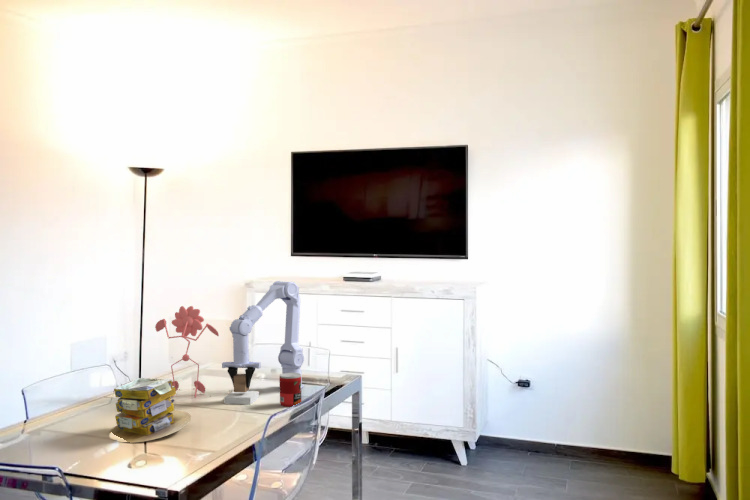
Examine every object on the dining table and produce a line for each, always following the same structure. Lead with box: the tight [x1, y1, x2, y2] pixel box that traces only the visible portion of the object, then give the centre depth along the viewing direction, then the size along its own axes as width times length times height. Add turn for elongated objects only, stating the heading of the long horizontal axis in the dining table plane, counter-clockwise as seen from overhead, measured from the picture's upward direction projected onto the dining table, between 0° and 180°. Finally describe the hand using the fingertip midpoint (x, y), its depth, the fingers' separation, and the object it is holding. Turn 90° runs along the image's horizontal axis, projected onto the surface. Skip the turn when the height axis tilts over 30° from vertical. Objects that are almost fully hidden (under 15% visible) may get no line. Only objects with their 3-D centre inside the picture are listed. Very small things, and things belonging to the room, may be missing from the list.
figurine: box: [154, 305, 220, 398], centre depth 256 cm, size 15×26×35 cm, turn 87°
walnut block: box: [233, 373, 250, 392], centre depth 242 cm, size 4×4×6 cm
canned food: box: [279, 373, 302, 408], centre depth 236 cm, size 8×8×11 cm
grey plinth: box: [223, 390, 260, 405], centre depth 243 cm, size 10×10×2 cm
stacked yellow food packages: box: [109, 377, 192, 444], centre depth 205 cm, size 25×25×17 cm
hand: (241, 387), depth 243 cm, fingers closed on walnut block, 4 cm apart
